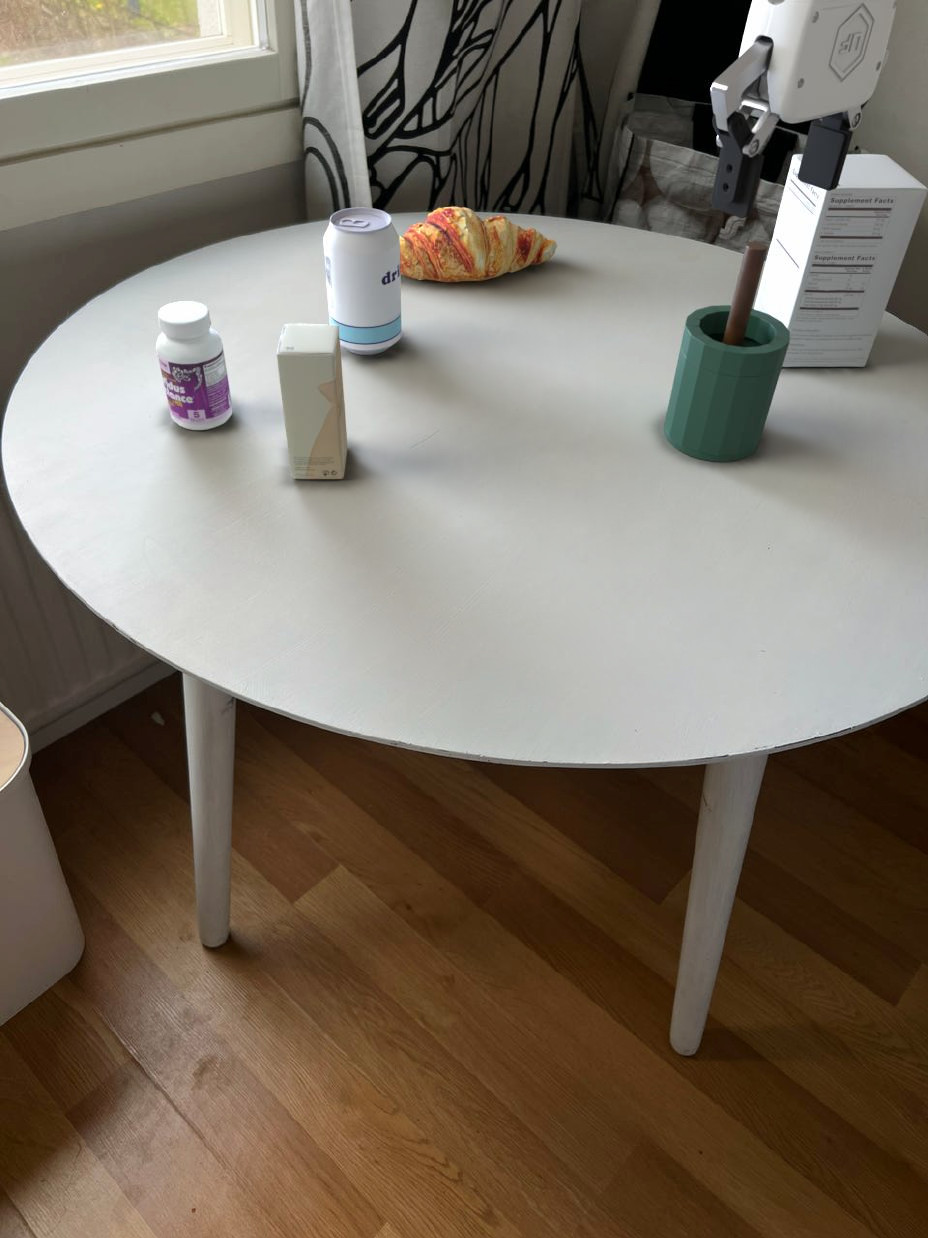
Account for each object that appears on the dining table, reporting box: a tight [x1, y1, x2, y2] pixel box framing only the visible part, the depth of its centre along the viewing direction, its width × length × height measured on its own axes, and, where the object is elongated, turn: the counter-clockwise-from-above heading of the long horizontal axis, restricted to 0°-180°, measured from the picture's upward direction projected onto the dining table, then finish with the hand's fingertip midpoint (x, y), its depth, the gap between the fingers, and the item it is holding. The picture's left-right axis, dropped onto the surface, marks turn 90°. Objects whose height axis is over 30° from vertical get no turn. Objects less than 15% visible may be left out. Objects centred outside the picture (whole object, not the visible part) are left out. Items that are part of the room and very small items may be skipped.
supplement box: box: [753, 153, 928, 368], centre depth 87 cm, size 10×9×17 cm
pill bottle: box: [155, 300, 234, 431], centre depth 77 cm, size 5×5×10 cm
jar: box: [663, 304, 790, 463], centre depth 77 cm, size 8×8×10 cm
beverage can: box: [322, 206, 402, 356], centre depth 86 cm, size 7×7×12 cm
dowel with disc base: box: [722, 240, 769, 347], centre depth 75 cm, size 4×4×16 cm
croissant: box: [399, 206, 558, 284], centre depth 101 cm, size 21×10×8 cm, turn 104°
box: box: [276, 323, 348, 480], centre depth 72 cm, size 5×4×11 cm
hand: (774, 197), depth 66 cm, fingers open, 9 cm apart
